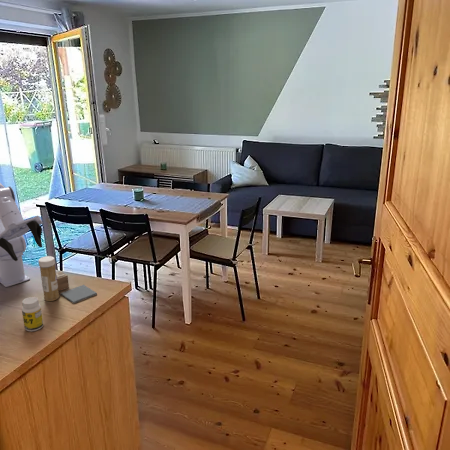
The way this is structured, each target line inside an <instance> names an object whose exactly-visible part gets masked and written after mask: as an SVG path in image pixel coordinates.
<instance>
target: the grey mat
mask: <svg viewBox="0 0 450 450" xmlns="http://www.w3.org/2000/svg"><path fill="white" fill-rule="evenodd" d="M97 295H98V292H97V291H94V290H93V289H91V288H89V287H88V286H86V285H85V284H82V285H78V286H76V287H74V288H71V289H68V290H65V291H63V292H60V296H62V297H64V298H65V299H66V300H67V301H69V302H71V303H72V304H77V303H79V302H81V301H83V300H87V299H89V298H92V297H94V296H97Z"/></svg>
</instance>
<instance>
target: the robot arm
mask: <svg viewBox="0 0 450 450" xmlns="http://www.w3.org/2000/svg"><path fill="white" fill-rule="evenodd" d="M43 224H44V223H43V220H42V219H41V217H40V216H39V215H36V216H35V217H30V218H28V219H24V217H23V215H22V213H21V211H20V209H19V208H18V204H17V203H16V195H15V191H14V189H13V187H11V186H7V187H5V186H4V185H3V184H2V182H0V284H1V285H2V286H3V287H6V288H8V287H11V286H14V285H17V284H20V283H24V282H26V281H30V280H31V278H30V277H29V276H28V275H26V274H25V268H24V261H23V256H24V252H25V251H26V250H27V244H26V239H25V237H24V235H25V234H26V233H28V232H29V231H30V233H31V234H32V237H33V239H34V242H35V243H36V245H37V246H38V248H42V247H43V245H42V232H43V228H42V226H41V225H43Z"/></svg>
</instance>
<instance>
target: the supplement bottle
mask: <svg viewBox="0 0 450 450" xmlns="http://www.w3.org/2000/svg"><path fill="white" fill-rule="evenodd" d="M21 304H22V308H21V312H22V320H23V326H24V330H25V331H28V332H36V331H39V330H41V329H42V328H43V326H44V320H43V313H42V311H43V310H42V306H41V304H40V302H39V298H38V297H36V296H29V297H25V298H24V299H23V300H22V301H21Z"/></svg>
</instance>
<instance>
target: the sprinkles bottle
mask: <svg viewBox="0 0 450 450" xmlns="http://www.w3.org/2000/svg"><path fill="white" fill-rule="evenodd" d="M38 266H39V269H40V270H39V271H40V279H41V286H42V291H43V300H44V301H46V302H53V301H57V300H58V299H59V298H60V294H59V292H60V291H58V284H57V277H56V273H57V271H56V260H55V257H54V256H51V255H47V256H42V257H40V258H39V259H38Z"/></svg>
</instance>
